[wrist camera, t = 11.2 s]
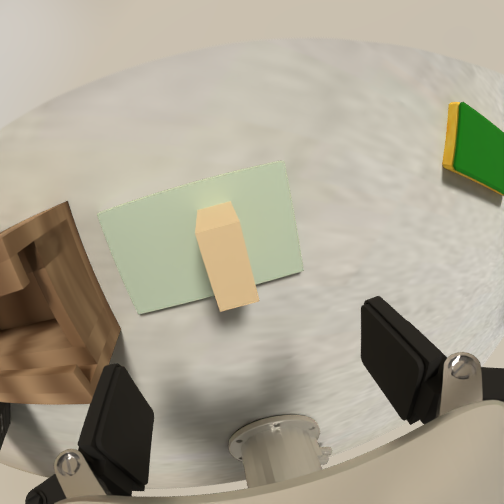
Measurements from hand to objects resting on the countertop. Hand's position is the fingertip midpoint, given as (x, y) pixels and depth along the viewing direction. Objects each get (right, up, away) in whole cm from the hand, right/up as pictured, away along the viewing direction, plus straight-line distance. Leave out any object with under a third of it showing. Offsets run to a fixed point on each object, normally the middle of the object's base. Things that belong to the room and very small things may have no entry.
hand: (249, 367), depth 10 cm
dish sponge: (+26, +16, +13) cm, 33 cm away
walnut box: (-21, +1, +10) cm, 23 cm away
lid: (-4, +5, +12) cm, 13 cm away
